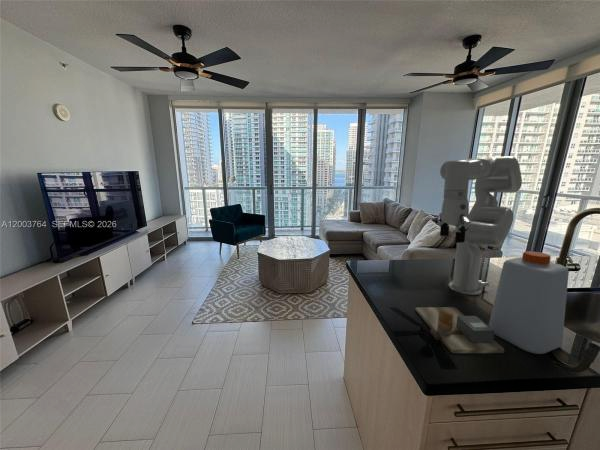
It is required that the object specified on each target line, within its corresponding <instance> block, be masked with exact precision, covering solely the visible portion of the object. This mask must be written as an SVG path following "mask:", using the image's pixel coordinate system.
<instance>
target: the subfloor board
mask: <svg viewBox="0 0 600 450" xmlns="http://www.w3.org/2000/svg"><path fill="white" fill-rule="evenodd" d="M442 309H444V310H448V311H451V312H452V313H453V323H452V332H451V336H443V335H441V334H439V333H438V332H437V326H438V316H439V310H442ZM415 311H416V313H418V315H419V317H421V319H423V320H424V322H425V323H426V324H427V325H428V326H429V328H430V330H429V333H430V334H431V336H433V338H434V339H435V340H436V341H441V342H442V343H443V344H444V345H445V346H446V347H447V349H448V350H449V351H450V352H451V353H452V354H504V353H505V348H504V347H503V346H501V345H500V344H499V343H498V342H497V341H495V340H494V337H495V336H494V335H493V342H471V341H470V340H469V339H468V338H467V337H466V336H465V335H464V334H463V333H462V332H461V331H460V330H459V329H458V328H457V327H456V325H457V316H466V315H465V314H463V313H462V312H461V311H460V310H459V309H457V308H456V307H454V306H445V307H444V306H443V307H441V306H436V307H431V306H428V307H427V306H426V307H424V306H422V307H418V306H417V307H415Z"/></svg>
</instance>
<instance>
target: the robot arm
mask: <svg viewBox="0 0 600 450" xmlns="http://www.w3.org/2000/svg"><path fill="white" fill-rule="evenodd" d="M439 170H440V171H439V173H440V176H441V178H442V179H443V180H444V184H443V185H444V188H443V201H442V207H441V212H440V213H439V214H438V217H439V225H440V229H439V230H440V231H439V236H440V237H447V236H449V234H450V233H449V232H450V226H453V227H455V237H454V242H455V243H456V250H455V251H456V252H455V259H454V260H455V261H454V269H453V281H450V282H449V283H448V287H449V289H451V290H452V291H454V292H456V293H460V294H463V295H469V296H476V295H480V294H482V293H483V292H482V288H483V287H489V286H490V283H489V282H488V281H482V280H480V273H481V272H480V271H481V267H482V266H481V265H482V257H483V254H482V250H481V249H480V247H479V246H480V245H481V246H488V247H493V248H495V247H496V248H499V247H500V246H502V245H503V244H504V243H505V242H506V239H507V237H508V234H509V232H510V230H511V228H512V225H513V222H514V216H515V215H514V212H513V210H512V209H511V208H510V207H506V206H499V202H498V200H497V198H496V197H495V196H494V195H493V194H492V193H504V194H505V193H507V194H509V193H510V194H512V193H513V194H514V193H517V192H519V191H520V189H521V188H522V184H523V179H522V172H521V166H520V163H519V161H518V159H517V158H516V157H515V156H511V155H508V156H507V155H505V156H504V155H503V156H489V157H474V158H473V157H472V158H467V159H459V160H458V159H457V160H446V161H445V162H444V163H443V164H442V165H440V169H439ZM473 180H475V182H474V195H475V202H474V204H473V206H472V208H471V209H470V205H469V199H468V194H469V193H468V191H469V181H473ZM449 225H450V226H449Z"/></svg>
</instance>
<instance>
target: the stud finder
mask: <svg viewBox="0 0 600 450" xmlns="http://www.w3.org/2000/svg"><path fill="white" fill-rule="evenodd" d="M456 327H457V328H458V329H459V330H460V331H461V332H462V333H463V334H464V335H465V336H466V337H467V338H468V339H469V340H470V341H471V342H493V336H494V335H495V334H494V330H493V329H492V328H490V327H489V324H486V322H484V321H483V320H482V319H480V318H479V317H478V316H477V315H465V316H457V325H456Z"/></svg>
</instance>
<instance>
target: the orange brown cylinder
mask: <svg viewBox="0 0 600 450" xmlns="http://www.w3.org/2000/svg"><path fill="white" fill-rule="evenodd" d="M452 323H453V313H452V312H451V311H448V310H444V309H442V310H439V316H438V326H437V332H438V333H439V334H441V335H443V336H451V332H452Z"/></svg>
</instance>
